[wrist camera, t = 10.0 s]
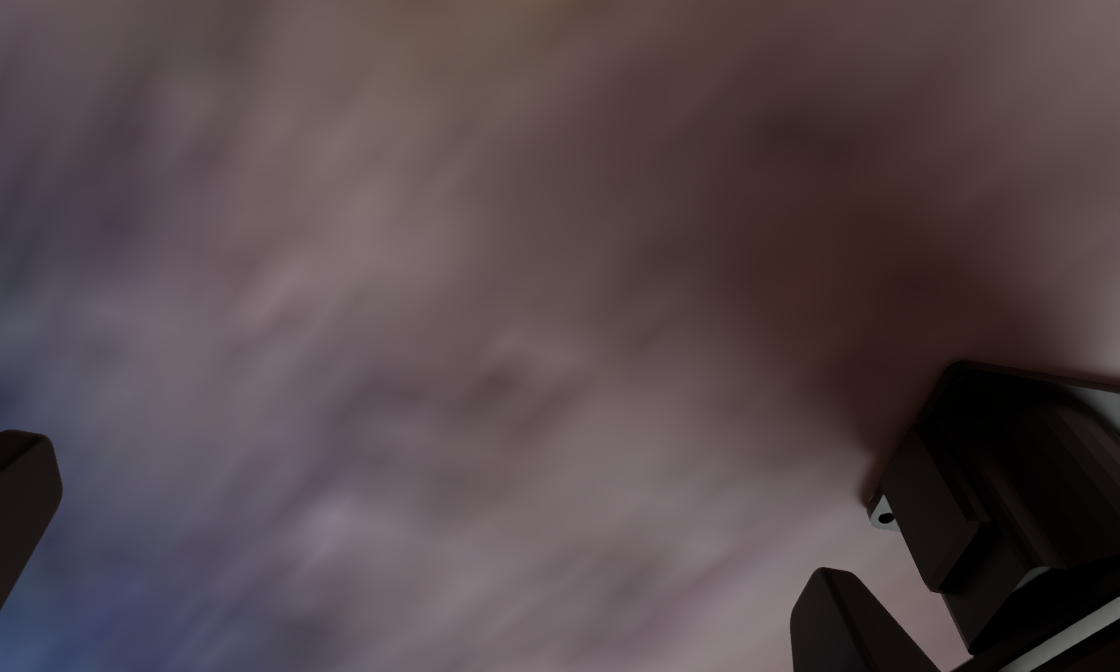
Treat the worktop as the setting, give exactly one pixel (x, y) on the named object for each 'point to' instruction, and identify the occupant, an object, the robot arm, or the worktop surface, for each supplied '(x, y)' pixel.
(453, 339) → the worktop surface
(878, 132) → the worktop surface
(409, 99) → the worktop surface
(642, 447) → the worktop surface
